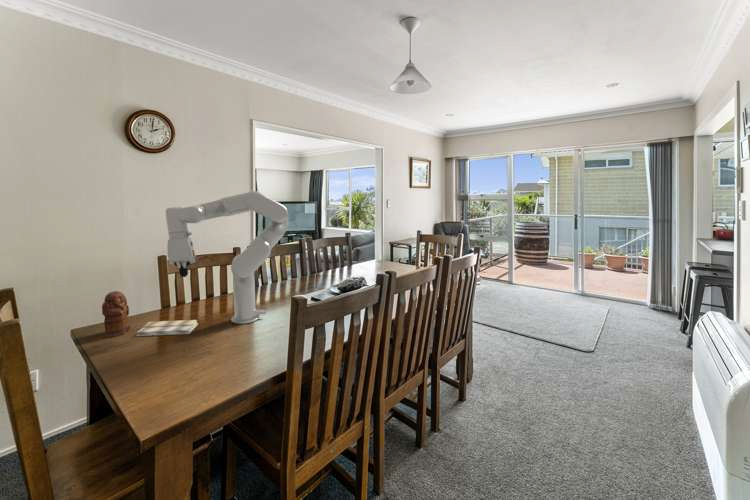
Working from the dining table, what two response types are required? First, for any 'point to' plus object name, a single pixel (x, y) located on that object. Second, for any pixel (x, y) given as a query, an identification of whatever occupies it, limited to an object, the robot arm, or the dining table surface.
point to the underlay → (171, 334)
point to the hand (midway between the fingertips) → (184, 276)
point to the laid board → (164, 330)
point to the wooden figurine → (115, 314)
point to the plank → (171, 323)
